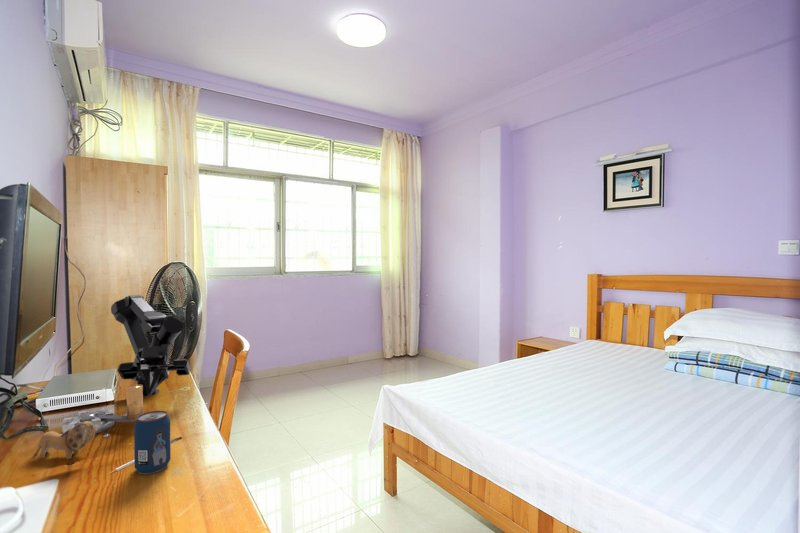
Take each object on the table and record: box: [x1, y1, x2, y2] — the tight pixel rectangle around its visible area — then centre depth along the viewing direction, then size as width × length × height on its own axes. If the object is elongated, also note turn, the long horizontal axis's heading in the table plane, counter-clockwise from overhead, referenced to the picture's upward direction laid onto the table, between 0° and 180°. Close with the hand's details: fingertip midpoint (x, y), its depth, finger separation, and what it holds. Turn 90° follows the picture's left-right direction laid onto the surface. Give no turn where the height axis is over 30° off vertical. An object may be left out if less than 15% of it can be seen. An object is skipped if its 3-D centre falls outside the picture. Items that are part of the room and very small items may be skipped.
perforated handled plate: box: [62, 384, 144, 435], centre depth 106 cm, size 20×11×12 cm, turn 87°
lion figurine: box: [33, 421, 98, 466], centre depth 92 cm, size 15×5×9 cm, turn 95°
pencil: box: [108, 436, 183, 475], centre depth 95 cm, size 1×19×1 cm, turn 160°
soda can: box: [133, 410, 172, 475], centre depth 89 cm, size 7×7×12 cm
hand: (149, 394), depth 117 cm, fingers closed
